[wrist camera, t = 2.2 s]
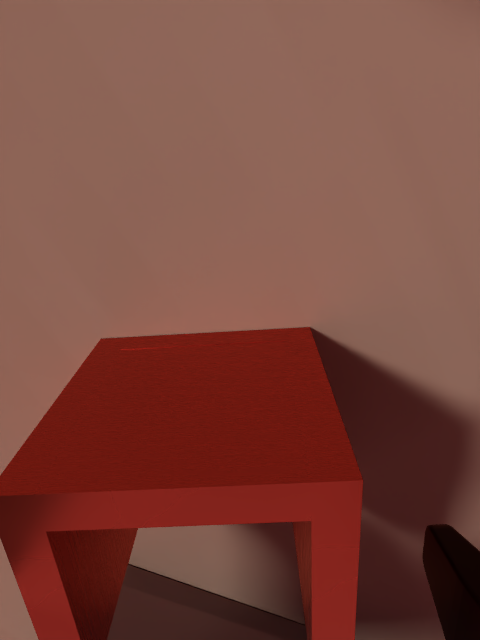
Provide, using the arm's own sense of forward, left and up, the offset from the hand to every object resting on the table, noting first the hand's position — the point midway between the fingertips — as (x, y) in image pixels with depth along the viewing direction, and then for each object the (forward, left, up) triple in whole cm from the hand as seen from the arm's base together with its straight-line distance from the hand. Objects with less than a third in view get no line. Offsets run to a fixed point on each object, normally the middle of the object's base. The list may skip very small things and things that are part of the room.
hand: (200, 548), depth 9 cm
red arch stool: (0, 0, -5) cm, 5 cm away
